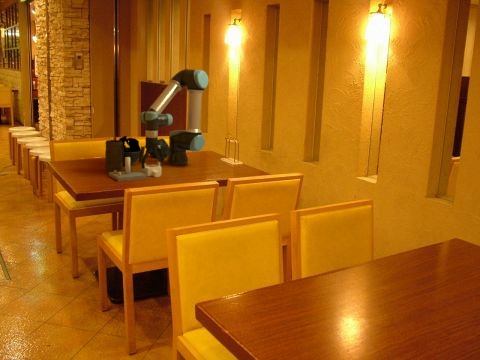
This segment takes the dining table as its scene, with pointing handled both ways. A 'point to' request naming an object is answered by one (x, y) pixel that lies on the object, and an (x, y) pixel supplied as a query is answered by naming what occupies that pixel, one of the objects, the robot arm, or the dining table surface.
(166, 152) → the squash
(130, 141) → the coal bowl
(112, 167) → the beer stein
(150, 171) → the square ring
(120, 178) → the post board
